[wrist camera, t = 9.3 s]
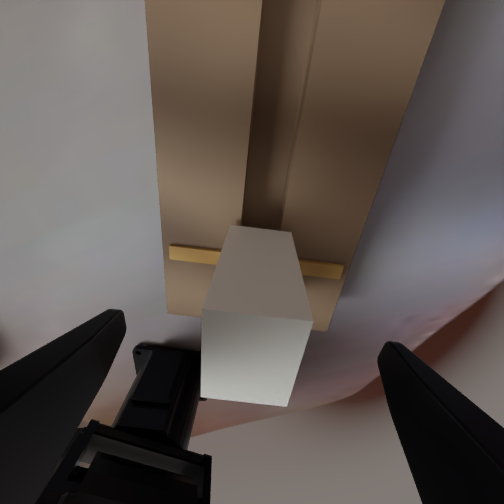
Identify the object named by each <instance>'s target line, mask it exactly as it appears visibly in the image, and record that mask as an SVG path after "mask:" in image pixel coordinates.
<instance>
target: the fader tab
mask: <svg viewBox="0 0 504 504" xmlns="http://www.w3.org/2000/svg"><path fill="white" fill-rule="evenodd" d="M313 322H314V321H313V317H312V313H311V309H310V305H309V301H308V297H307V293H306V289H305V285H304V281H303V277H302V273H301V269H300V265H299V261H298V257H297V253H296V249H295V245H294V241H293V237H292V233H291V232H286V231H278V230H269V229H261V228H253V227H244V226H236V225H230V226H229V229H228V232H227V235H226V238H225V241H224V244H223V247H222V250H221V253H220V256H219V259H218V262H217V265H216V268H215V271H214V274H213V277H212V280H211V283H210V286H209V289H208V292H207V295H206V298H205V301H204V304H203V307H202V342H201V397H204V398H213V399H222V400H231V401H240V402H249V403H258V404H267V405H276V406H285V407H287V405H288V401H289V398H290V395H291V392H292V389H293V385H294V382H295V379H296V376H297V373H298V370H299V366H300V363H301V360H302V357H303V354H304V350H305V347H306V344H307V341H308V338H309V335H310V331H311V328H312V325H313Z"/></svg>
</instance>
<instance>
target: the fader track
mask: <svg viewBox="0 0 504 504" xmlns="http://www.w3.org/2000/svg"><path fill="white" fill-rule="evenodd" d="M444 3H445V0H145V9H146V23H147V37H148V50H149V64H150V78H151V91H152V105H153V119H154V133H155V146H156V160H157V174H158V187H159V201H160V215H161V229H162V242H163V256H164V270H165V283H166V297H167V311H168V314H176V315H185V316H194V317H202V307H203V304H204V301H205V298H206V295H207V292H208V289H209V286H210V283H211V280H212V277H213V274H214V271H215V268H216V265H217V262H218V259H219V256H220V253H221V250H222V247H223V244H224V241H225V238H226V235H227V232H228V229H229V226H230V225H236V226H244V227H253V228H261V229H269V230H278V231H286V232H291V233H292V237H293V241H294V245H295V249H296V253H297V257H298V261H299V265H300V269H301V273H302V277H303V281H304V285H305V289H306V293H307V297H308V301H309V305H310V309H311V313H312V317H313V321H314V322H313V325H312V328H311V330H315V331H324V332H327V329H328V326H329V323H330V321H331V318H332V315H333V312H334V310H335V307H336V304H337V301H338V298H339V296H340V293H341V290H342V287H343V284H344V282H345V279H346V276H347V273H348V270H349V268H350V265H351V262H352V259H353V257H354V254H355V251H356V248H357V245H358V243H359V240H360V237H361V234H362V231H363V229H364V226H365V223H366V220H367V218H368V215H369V212H370V209H371V206H372V204H373V201H374V198H375V195H376V192H377V190H378V187H379V184H380V181H381V178H382V176H383V173H384V170H385V167H386V165H387V162H388V159H389V156H390V153H391V151H392V148H393V145H394V142H395V139H396V137H397V134H398V131H399V128H400V126H401V123H402V120H403V117H404V114H405V112H406V109H407V106H408V103H409V100H410V98H411V95H412V92H413V89H414V87H415V84H416V81H417V78H418V75H419V73H420V70H421V67H422V64H423V61H424V59H425V56H426V53H427V50H428V47H429V45H430V42H431V39H432V36H433V34H434V31H435V28H436V25H437V22H438V20H439V17H440V14H441V11H442V8H443V6H444Z"/></svg>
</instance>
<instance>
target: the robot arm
mask: <svg viewBox="0 0 504 504" xmlns="http://www.w3.org/2000/svg"><path fill="white" fill-rule="evenodd" d="M125 333H126V323H125V317H124V313H123V311H122V310H117V309H108V310H106V311H104V312H103V313H101V314H99V315H97V316H96V317H94V318H92V319H90V320H88V321H87V322H85V323H83V324H81V325H80V326H78V327H76V328H74V329H73V330H71V331H69V332H67V333H66V334H64V335H62V336H60V337H58V338H57V339H55V340H53V341H51V342H50V343H48V344H46V345H44V346H43V347H41V348H39V349H37V350H35V351H34V352H32V353H30V354H28V355H27V356H25V357H23V358H21V359H20V360H18V361H16V362H14V363H13V364H11V365H9V366H7V367H5V368H4V369H2V370H0V504H210V491H211V463H212V456H210V455H206V454H204V455H201V454H198V453H195V452H191V451H188V450H187V449H188V445H189V440H190V436H191V432H192V428H193V423H194V419H195V415H196V411H197V406H198V402H199V401H206V400H207V398H204V397H201V352H197V351H188V350H179V349H170V348H161V347H153V346H144V345H137V346H135V348H134V349H133V352H132V353H133V358H134V363H135V369H136V374H137V376H136V378H135V380H134V382H133V384H132V386H131V388H130V390H129V392H128V394H127V396H126V398H125V400H124V402H123V404H122V406H121V408H120V410H119V412H118V414H117V416H116V418H115V420H114V422H113V424H112V426H111V427H110V426H107V425H104V424H100V423H99V422H100V421H97V420H93V419H91V421H90V422H89V424H88V426H87V427H85V428H78V426H79V425H80V422H81V421H82V419H83V417H84V416H85V414H86V412H87V410H88V409H89V407H90V405H91V403H92V402H93V400H94V398H95V396H96V395H97V393H98V391H99V389H100V388H101V386H102V384H103V382H104V380H105V378H106V376H107V374H108V372H109V370H110V368H111V365H112V363H113V361H114V359H115V356H116V354H117V352H118V350H119V347H120V345H121V343H122V341H123V338H124V336H125ZM377 362H378V367H379V371H380V375H381V379H382V383H383V387H384V391H385V395H386V399H387V403H388V406H389V410H390V413H391V416H392V419H393V422H394V425H395V427H396V431H397V433H398V436H399V439H400V442H401V445H402V447H403V450H404V453H405V456H406V459H407V462H408V464H409V467H410V470H411V473H412V475H413V478H414V481H415V484H416V487H417V490H418V493H419V495H420V498H421V501H422V504H504V428H503V427H502V426H501V425H499V424H498V423H497V422H496V421H495V420H493V419H492V418H491V417H490V416H489V415H487V414H486V413H485V412H484V411H482V410H481V409H480V408H479V407H478V406H476V405H475V404H474V403H473V402H471V401H470V400H469V399H468V398H467V397H466V396H464V395H463V394H462V393H461V392H459V391H458V390H457V389H456V388H455V387H453V386H452V385H451V384H450V383H448V382H447V381H446V380H445V379H444V378H442V377H441V376H440V375H439V374H438V373H436V372H435V371H434V370H433V369H432V368H430V367H429V366H428V365H427V364H426V363H424V362H423V361H422V360H421V359H420V358H418V357H417V356H416V355H415V354H413V353H412V352H411V351H410V350H409V349H407V348H406V347H405V346H404V345H403V344H401V343H399V342H391V341H388V342H386V343H385V345H384V346H383V348H382V350H381V352H380V354H379V356H378V360H377ZM81 461H82V462H85V463H89V464H90V467H89V468H83V467H80V466H78V465H79V464H80V462H81Z"/></svg>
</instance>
